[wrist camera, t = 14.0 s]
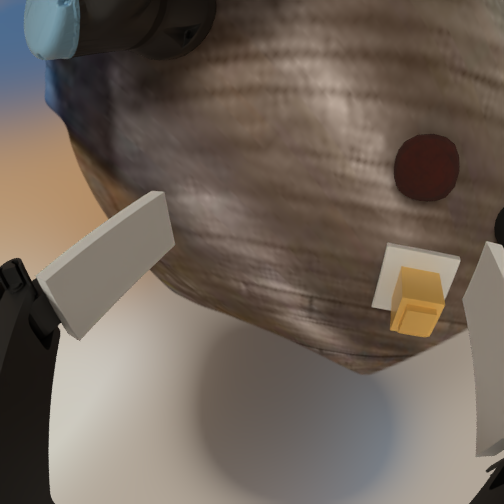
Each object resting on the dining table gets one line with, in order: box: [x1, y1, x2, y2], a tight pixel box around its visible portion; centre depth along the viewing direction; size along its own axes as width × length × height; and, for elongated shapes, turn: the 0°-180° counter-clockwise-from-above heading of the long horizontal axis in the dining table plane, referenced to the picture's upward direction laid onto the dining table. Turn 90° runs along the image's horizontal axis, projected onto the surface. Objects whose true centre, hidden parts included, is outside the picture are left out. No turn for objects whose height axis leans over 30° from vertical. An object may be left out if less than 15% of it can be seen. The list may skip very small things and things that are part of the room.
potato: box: [394, 134, 459, 201], centre depth 28 cm, size 8×9×8 cm
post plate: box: [372, 242, 461, 311], centre depth 38 cm, size 12×12×6 cm
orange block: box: [390, 266, 445, 337], centre depth 37 cm, size 6×6×8 cm
